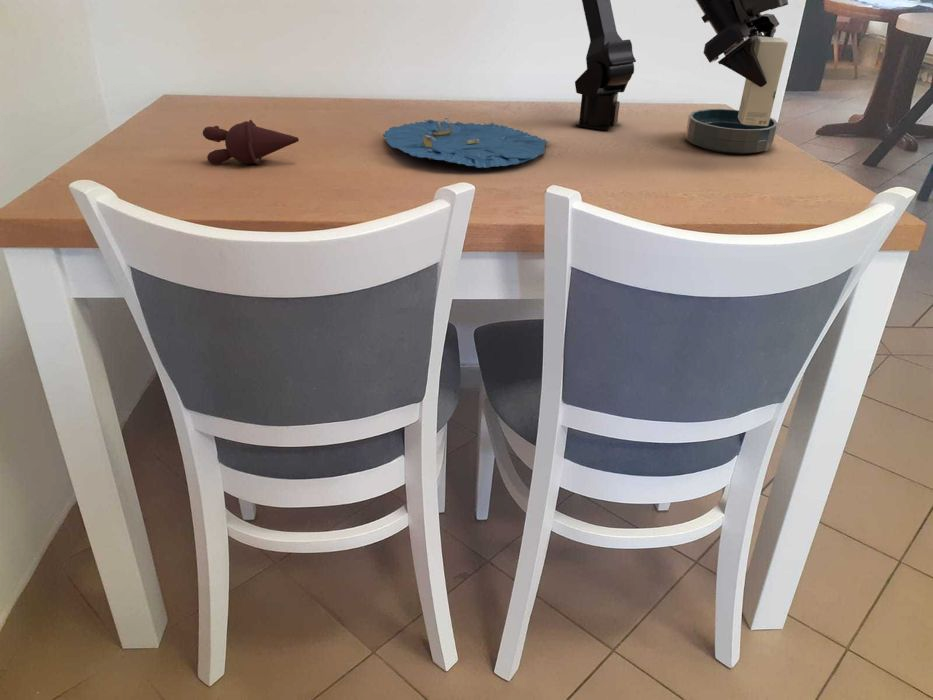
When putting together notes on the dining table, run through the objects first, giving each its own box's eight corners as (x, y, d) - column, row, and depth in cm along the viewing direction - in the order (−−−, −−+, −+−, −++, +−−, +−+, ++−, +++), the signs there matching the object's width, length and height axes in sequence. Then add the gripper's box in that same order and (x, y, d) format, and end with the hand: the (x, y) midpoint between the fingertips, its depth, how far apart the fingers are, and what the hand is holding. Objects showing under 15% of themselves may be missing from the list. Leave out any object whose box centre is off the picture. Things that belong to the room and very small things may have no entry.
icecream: (300, 116, 120) (208, 123, 120) (290, 115, 113) (193, 123, 113) (306, 160, 122) (215, 167, 122) (297, 162, 115) (201, 169, 115)
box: (768, 127, 119) (790, 42, 112) (740, 125, 120) (760, 40, 113) (762, 119, 123) (783, 36, 117) (735, 117, 124) (754, 35, 117)
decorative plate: (443, 123, 147) (443, 96, 145) (576, 149, 133) (579, 119, 130) (339, 150, 126) (338, 119, 123) (484, 184, 111) (486, 149, 109)
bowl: (676, 148, 132) (681, 122, 129) (694, 128, 143) (698, 105, 141) (765, 161, 126) (771, 134, 124) (776, 140, 138) (782, 115, 136)
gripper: (742, -37, 105) (800, 57, 105) (781, -42, 118) (833, 41, 118) (679, 17, 113) (734, 104, 113) (722, 6, 126) (771, 84, 126)
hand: (770, 82), depth 117 cm, fingers closed on box, 6 cm apart
